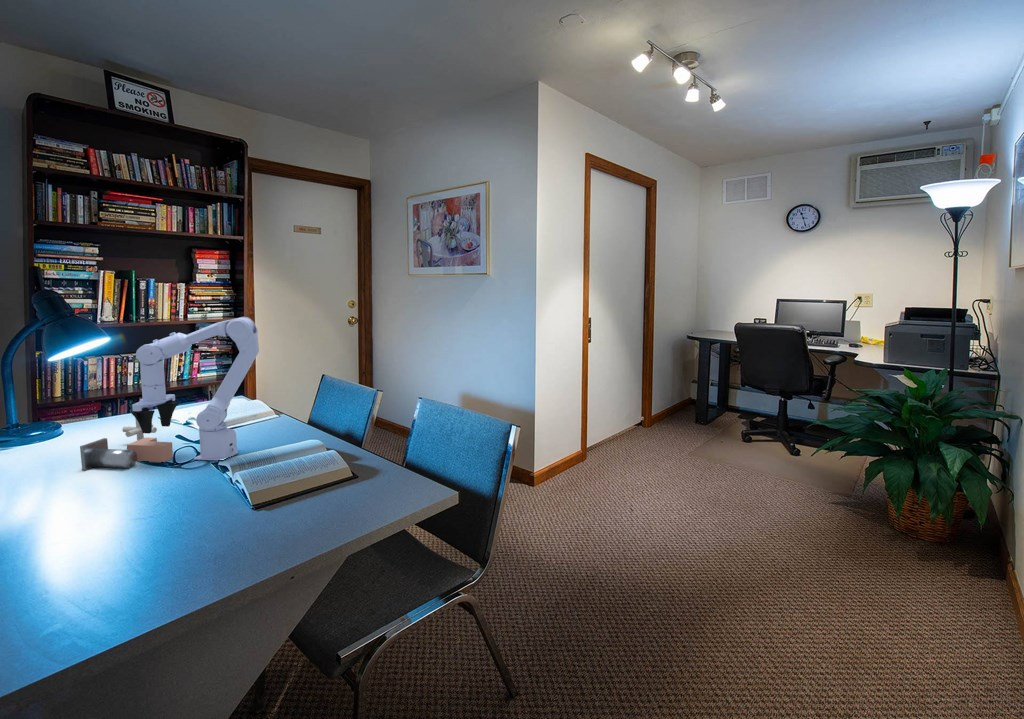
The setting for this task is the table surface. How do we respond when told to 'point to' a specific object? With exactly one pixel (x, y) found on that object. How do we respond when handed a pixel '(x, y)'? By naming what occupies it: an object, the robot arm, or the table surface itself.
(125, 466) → the grey cylinder with plate
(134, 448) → the tan piece
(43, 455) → the table surface
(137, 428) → the pipe connector
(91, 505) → the table surface
